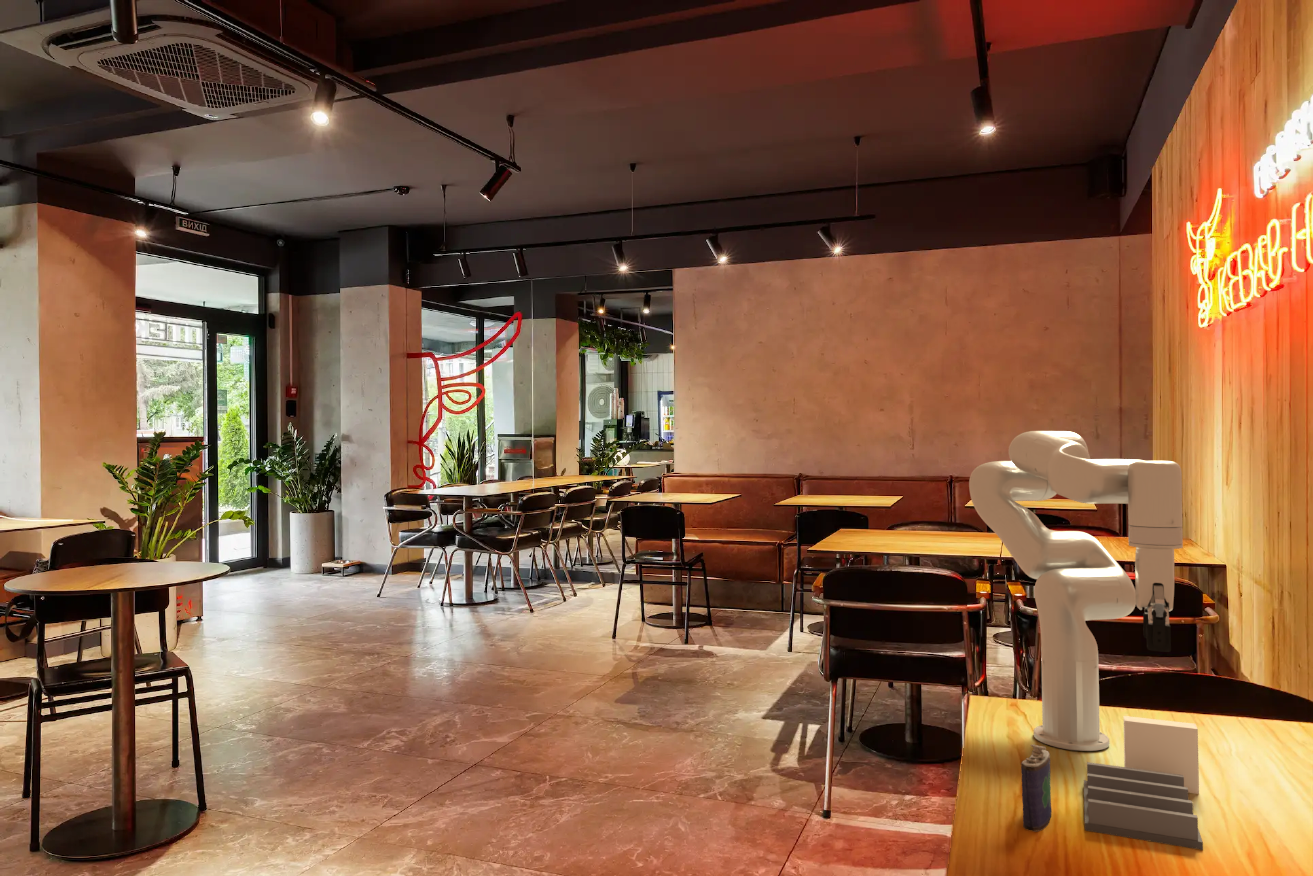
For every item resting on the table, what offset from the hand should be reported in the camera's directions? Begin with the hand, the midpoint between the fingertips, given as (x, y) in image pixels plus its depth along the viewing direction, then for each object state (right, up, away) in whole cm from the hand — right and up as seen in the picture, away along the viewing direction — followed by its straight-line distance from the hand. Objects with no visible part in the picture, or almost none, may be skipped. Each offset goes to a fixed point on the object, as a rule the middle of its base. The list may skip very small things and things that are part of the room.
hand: (1156, 644), depth 137 cm
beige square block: (0, -22, -1) cm, 22 cm away
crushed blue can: (-25, -22, -14) cm, 36 cm away
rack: (-10, -22, -12) cm, 27 cm away
